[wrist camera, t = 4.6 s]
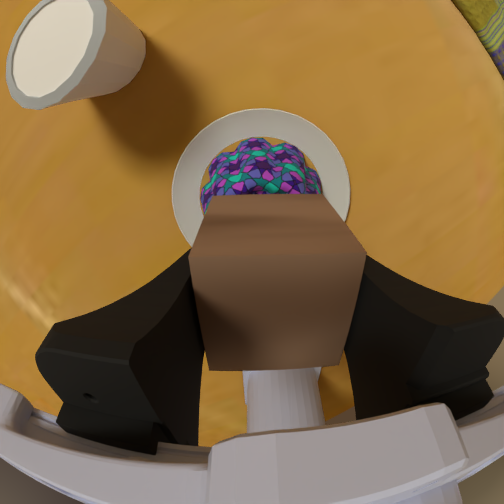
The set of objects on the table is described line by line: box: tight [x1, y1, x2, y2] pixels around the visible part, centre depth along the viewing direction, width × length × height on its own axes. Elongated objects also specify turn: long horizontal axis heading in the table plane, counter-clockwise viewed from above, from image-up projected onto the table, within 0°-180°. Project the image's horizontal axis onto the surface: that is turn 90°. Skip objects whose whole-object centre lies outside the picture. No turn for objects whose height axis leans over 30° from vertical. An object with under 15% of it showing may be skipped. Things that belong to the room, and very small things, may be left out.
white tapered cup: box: [6, 0, 146, 110], centre depth 10 cm, size 7×7×7 cm
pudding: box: [172, 108, 350, 246], centre depth 16 cm, size 12×12×5 cm
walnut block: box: [188, 194, 367, 371], centre depth 10 cm, size 4×4×5 cm
